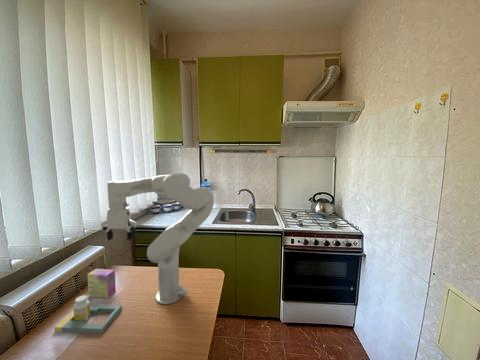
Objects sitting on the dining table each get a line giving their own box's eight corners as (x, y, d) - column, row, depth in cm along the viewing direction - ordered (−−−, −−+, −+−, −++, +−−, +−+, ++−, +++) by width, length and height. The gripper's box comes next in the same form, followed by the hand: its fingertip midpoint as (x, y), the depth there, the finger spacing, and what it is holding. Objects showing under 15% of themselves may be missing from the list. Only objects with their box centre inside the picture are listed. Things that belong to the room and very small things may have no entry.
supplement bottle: (79, 326, 84) (78, 304, 83) (71, 322, 86) (69, 300, 85) (93, 316, 89) (91, 296, 88) (85, 313, 91) (83, 292, 90)
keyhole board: (121, 309, 94) (121, 305, 94) (101, 333, 81) (101, 328, 81) (81, 308, 95) (80, 303, 94) (54, 331, 82) (54, 327, 81)
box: (116, 291, 107) (115, 269, 105) (108, 298, 101) (106, 275, 100) (97, 289, 108) (96, 268, 106) (88, 297, 102) (86, 274, 101)
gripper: (139, 203, 106) (141, 236, 108) (105, 204, 106) (107, 236, 108) (131, 207, 99) (133, 242, 100) (95, 207, 99) (97, 242, 100)
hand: (120, 239), depth 104 cm, fingers open, 9 cm apart
